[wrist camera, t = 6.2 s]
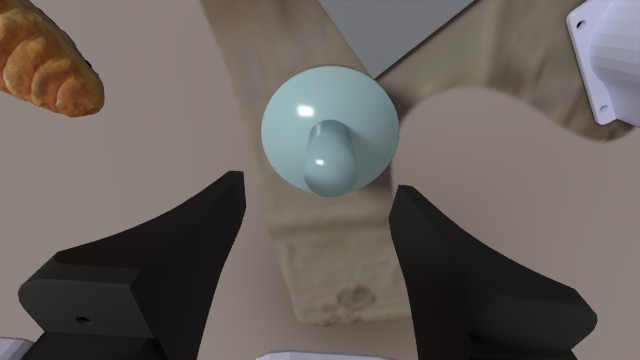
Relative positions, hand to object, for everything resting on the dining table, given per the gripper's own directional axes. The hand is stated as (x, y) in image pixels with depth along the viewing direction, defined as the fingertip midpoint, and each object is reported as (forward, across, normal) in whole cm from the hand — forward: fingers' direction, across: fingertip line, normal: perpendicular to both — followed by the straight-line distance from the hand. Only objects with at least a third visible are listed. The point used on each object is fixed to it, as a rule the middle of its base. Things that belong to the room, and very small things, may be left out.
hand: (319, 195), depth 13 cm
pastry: (+11, +21, -3) cm, 24 cm away
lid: (+7, 0, 0) cm, 7 cm away
